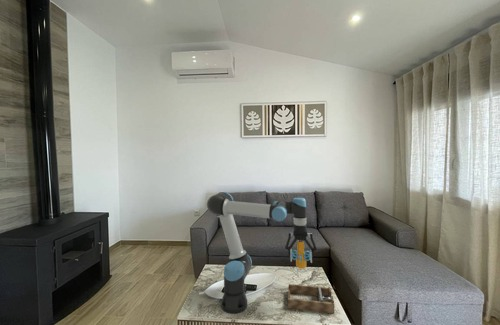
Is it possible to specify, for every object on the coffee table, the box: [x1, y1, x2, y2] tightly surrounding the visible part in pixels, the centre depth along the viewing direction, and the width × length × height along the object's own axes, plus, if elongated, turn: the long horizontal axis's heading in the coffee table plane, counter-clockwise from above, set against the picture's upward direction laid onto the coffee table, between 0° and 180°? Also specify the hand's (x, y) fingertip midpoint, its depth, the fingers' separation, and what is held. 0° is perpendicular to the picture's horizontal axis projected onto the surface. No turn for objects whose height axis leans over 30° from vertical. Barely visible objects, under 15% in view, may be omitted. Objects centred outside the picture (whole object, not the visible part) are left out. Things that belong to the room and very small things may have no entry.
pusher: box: [317, 286, 331, 302], centre depth 134 cm, size 8×13×6 cm, turn 169°
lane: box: [287, 283, 335, 314], centre depth 136 cm, size 25×16×6 cm, turn 79°
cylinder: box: [291, 240, 310, 269], centre depth 136 cm, size 12×10×15 cm
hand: (301, 261), depth 136 cm, fingers closed on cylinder, 11 cm apart
